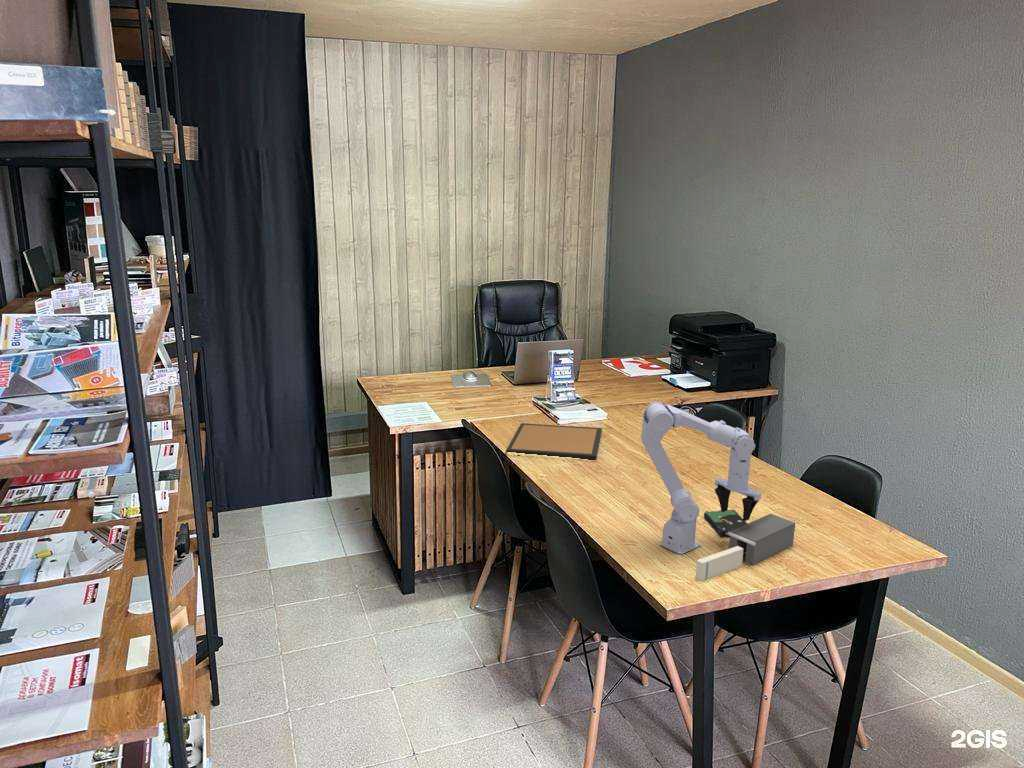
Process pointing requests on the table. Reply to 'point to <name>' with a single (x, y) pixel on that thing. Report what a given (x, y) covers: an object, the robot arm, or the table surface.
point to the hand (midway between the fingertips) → (735, 515)
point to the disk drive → (724, 521)
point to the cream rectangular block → (719, 563)
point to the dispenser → (763, 537)
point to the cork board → (556, 441)
